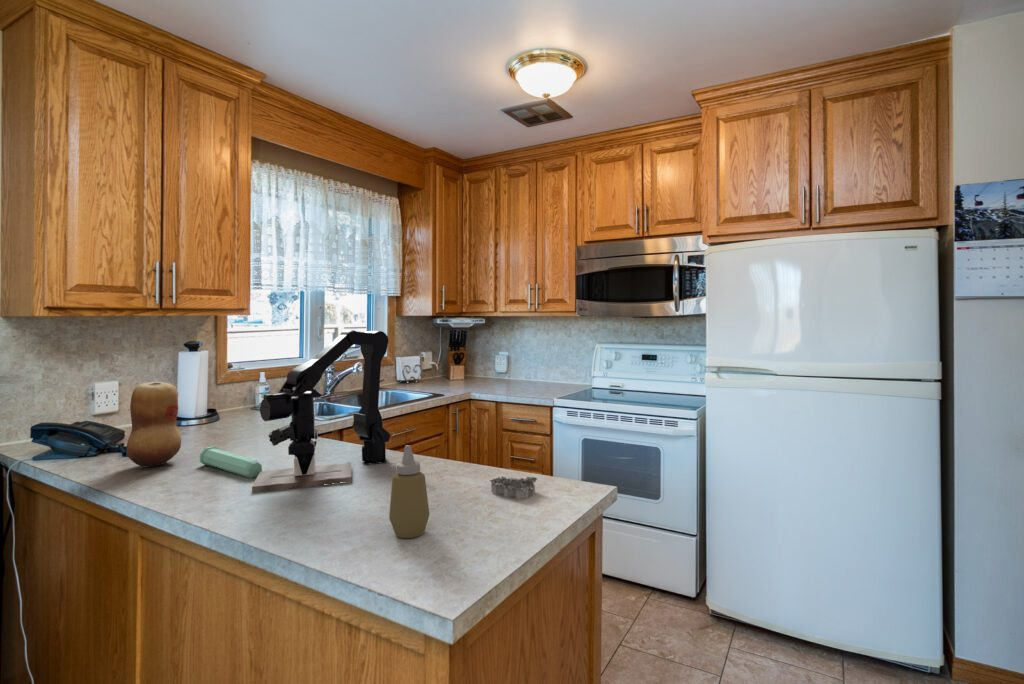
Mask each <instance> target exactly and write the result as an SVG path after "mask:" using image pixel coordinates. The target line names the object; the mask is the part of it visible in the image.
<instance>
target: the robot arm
mask: <svg viewBox="0 0 1024 684" xmlns="http://www.w3.org/2000/svg"><path fill="white" fill-rule="evenodd" d="M354 345H356V346H360V351H361V355H362V357H363V360H364V363H363V364H364V365H363V379H362V391H361V392H362V393H361V394H362V395H361V407H360V410H358V412H354V413H353V423H352V427H353V431H354V433H355V434H356V435H357V436H358V438H359V441H363V445H362V446H361V461H362V462H363V464H364V465H370V464H369V463H374V464H380V463H379V462H385V463H387V458H386V457H387V455H386V454H387V453H386V452H387V451H386V449H387V448H386V443H388V442H390V440H391V439H390V438H391V434H390V433H389V432H388V431H387V429H385V428H384V427H383V425H384V424H383V417H382V414H381V412H380V410H379V409H380V408H379V402H380V400H379V399H380V397H379V396H380V383H381V367H382V362H383V361H382V360H383V358H384V356H385V355H386V353H387V350H388V346H389V336H388V335H387V333H386V332H384V331H382V330H367V331H364V332H363V331H358V330H357V331H356V330H354V329H353V330H352V329H343V331H342V332H340V334H339V335H338V336H337V337H336V338H334V339H333V340H332V341H331V342H330V343H329V344H328V345H326V346H325V347H324V348H323V349H322V350H321V351H320V352H319V353H317V354H316V355H315V356H314V357H313V358H311V359H310V360H308V361H306V362H304V363H303V362H302V363H301V364H299V365H297V366H296V367H294V368H293V369H291V370H290V371H288V373H287V374H286V381H284V383H283V385H282V386H281V388H280V389H279V391H278V393H271V394H270V393H265V394H263V399H262V400H261V402H260V406H259V413H260V417H261V419H262V420H263V421H264V422H270V421H277V420H283V419H287V418H289V417H290V416H291V418H290V421H289V424H287V425H285V426H282V427H277V428H276V429H275V430H274V429H273V430H272V431H270V432H269V433H268V438H269V442H271V444H272V447H274V446H278V445H279V444H281V443H283V442H285V441H287V440H289V441H290V443H289V445H288V447H287V449H288V450H287V451H288V453H287V454H288V455H289V456H294V457H295V456H296V457H297V459H298V462H299V465H300V469H301V472H302V475H305V474H307V471H308V469H309V466H310V463H311V460H312V457H313V455H314V453H315V451H316V445H317V443H318V442H317V440H318V438H319V435H318V430H317V429H316V428H315V427H316V426H315V423H316V422H315V420H316V416H315V404H314V403H315V398H320V397H322V393H320V392H319V391H318V390H316V388H315V387H316V386H317V384H319V382H320V380H321V379H322V377H323V374H324V373H325V372H326V370H328V368H329V367H330V366H331V365H333V364H334V363H335V362H336V361H337V360H338V359H339V358H341V356H342V355H344V353H346V352H347V351H348V350H350V348H352V347H353V346H354ZM313 439H314V440H313ZM315 440H316V441H315Z"/></svg>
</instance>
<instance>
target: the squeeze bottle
mask: <svg viewBox="0 0 1024 684" xmlns="http://www.w3.org/2000/svg"><path fill="white" fill-rule="evenodd" d="M426 483H427V482H426V475H425V474H424V473H423V472H421V463H420V462H419V461H417V460H415V458H414V454H413V449H412V445H411V444H409V445H408V444H407V445H405V446H404V450H403V456H402V459H401V462H398V463H397V464H396V473H395V474H394V475H393V476H392V477H391V487H390V488H391V489H390V503H389V512H388V513H389V514H388V517H389V522H390V525H391V527H392V530H393V532H394V535H395V536H396V537H397V538H400V539H413V538H417V537H420V536H422V535H423V534H424V532H426V531H425V530H426V527H427V525H428V520H429V517H430V507H429V500H428V492H427V491H428V490H427V484H426Z"/></svg>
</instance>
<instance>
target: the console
mask: <svg viewBox="0 0 1024 684" xmlns="http://www.w3.org/2000/svg"><path fill="white" fill-rule="evenodd" d="M340 482H351V483H352V463H351V462H346V463H344V462H343V463H337V464H336V463H335V464H324V465H323V464H322V465H315V474H310V475H299V476H294V467H291V468H281V469H270V470H268V469H267V470H262V471H260V473H259V475H258V476H256V479H255V481H254V482H253V484H252V486H251V492H253V493H260V492H259V491H263V492H272V491H271V490H273V491H279V490H280V491H281V489H283V490H291V489H290V488H292V489H300V488H299V487H302V488H308V487H307V486H312V487H317V486H316V485H322V486H325V485H324V484H332V483H340ZM332 485H333V484H332Z"/></svg>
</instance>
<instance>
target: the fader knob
mask: <svg viewBox="0 0 1024 684" xmlns="http://www.w3.org/2000/svg"><path fill="white" fill-rule="evenodd" d="M293 466H294V467H293V468H294V476H299V475H302V472H301V469H300V465H299V462H298V459H297V457H296V456H294V457H293ZM315 466H316V453H315V452H314V455H313V457H312V460H311V463H310V466H309V469H308V471H307V474H305V475H310V474H315Z"/></svg>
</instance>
